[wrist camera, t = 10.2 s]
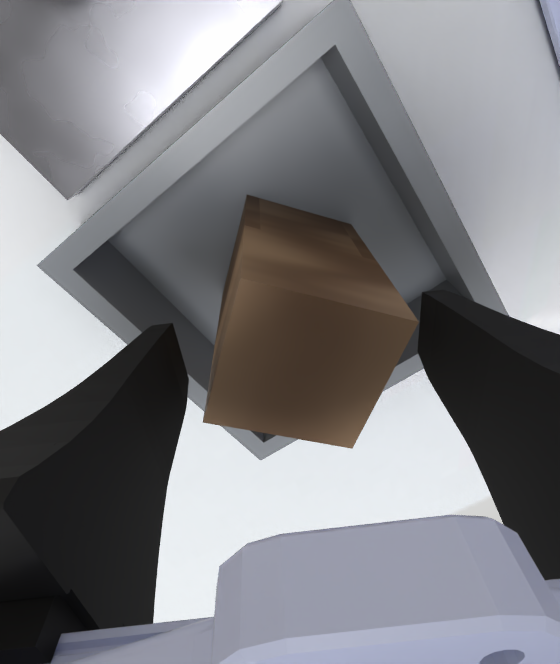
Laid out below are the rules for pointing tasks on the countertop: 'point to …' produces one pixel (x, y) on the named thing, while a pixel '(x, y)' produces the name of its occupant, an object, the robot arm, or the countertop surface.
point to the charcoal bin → (276, 186)
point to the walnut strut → (303, 328)
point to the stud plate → (105, 73)
